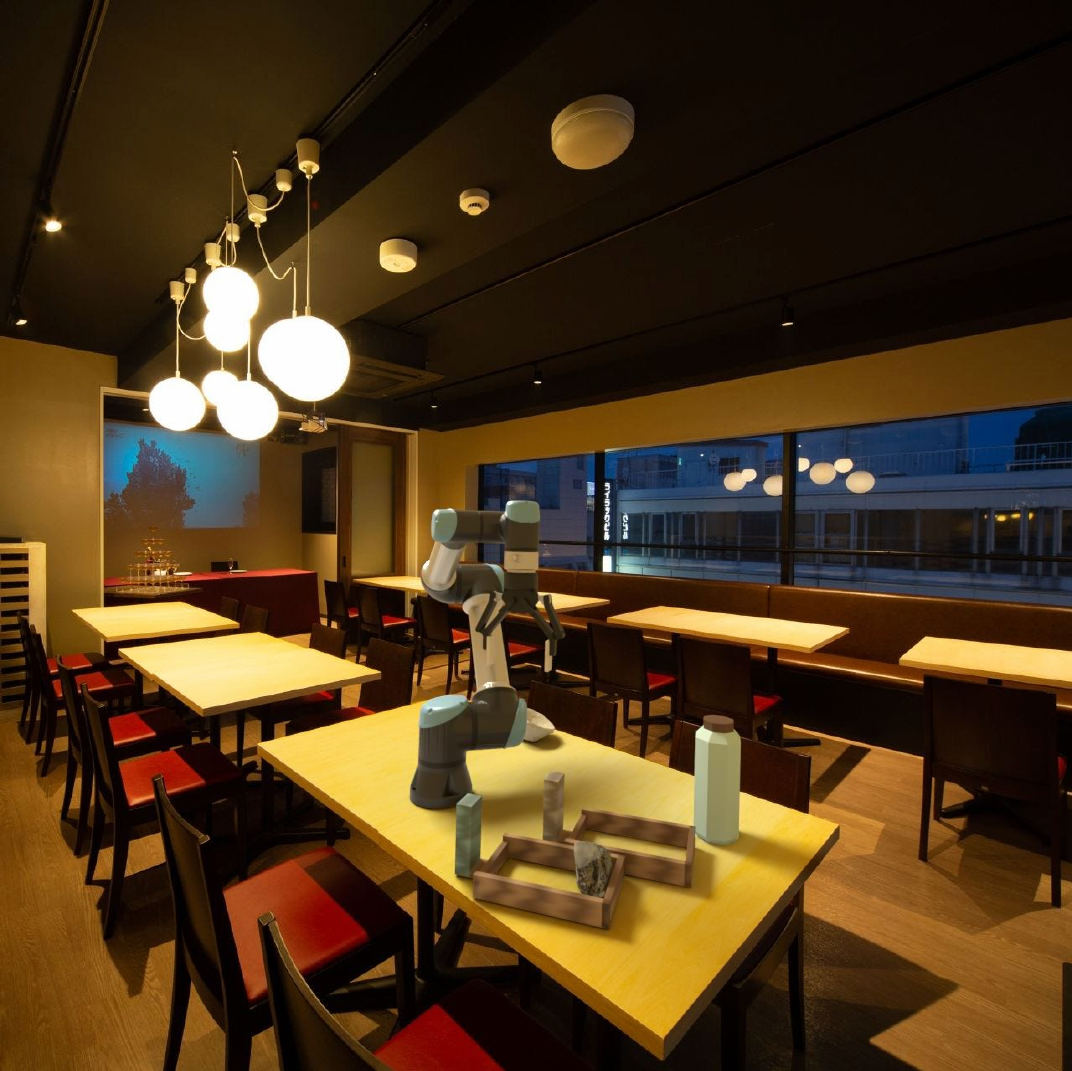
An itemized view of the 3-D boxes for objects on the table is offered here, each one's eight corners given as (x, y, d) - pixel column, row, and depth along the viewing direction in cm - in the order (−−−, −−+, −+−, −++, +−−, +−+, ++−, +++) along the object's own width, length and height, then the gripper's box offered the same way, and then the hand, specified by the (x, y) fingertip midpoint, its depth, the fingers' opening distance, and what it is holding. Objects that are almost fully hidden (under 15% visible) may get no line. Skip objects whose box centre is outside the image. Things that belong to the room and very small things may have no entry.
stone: (621, 844, 101) (573, 824, 107) (596, 902, 95) (547, 878, 101) (636, 870, 106) (589, 850, 112) (613, 927, 100) (565, 902, 106)
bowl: (555, 749, 174) (556, 716, 174) (509, 747, 174) (509, 714, 175) (554, 732, 189) (555, 702, 189) (511, 731, 189) (512, 700, 190)
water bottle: (685, 824, 130) (687, 712, 130) (728, 823, 130) (730, 712, 131) (701, 847, 120) (704, 727, 120) (748, 847, 120) (751, 726, 121)
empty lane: (534, 855, 114) (536, 789, 115) (556, 820, 129) (557, 762, 129) (691, 887, 105) (692, 815, 105) (695, 845, 120) (696, 782, 120)
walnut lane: (441, 890, 102) (443, 816, 103) (476, 847, 117) (478, 782, 117) (608, 929, 93) (610, 848, 93) (624, 877, 108) (626, 807, 108)
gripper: (462, 569, 127) (459, 665, 127) (571, 574, 120) (569, 676, 120) (476, 568, 135) (473, 659, 134) (580, 572, 127) (577, 669, 127)
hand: (518, 667), depth 127 cm, fingers open, 13 cm apart
